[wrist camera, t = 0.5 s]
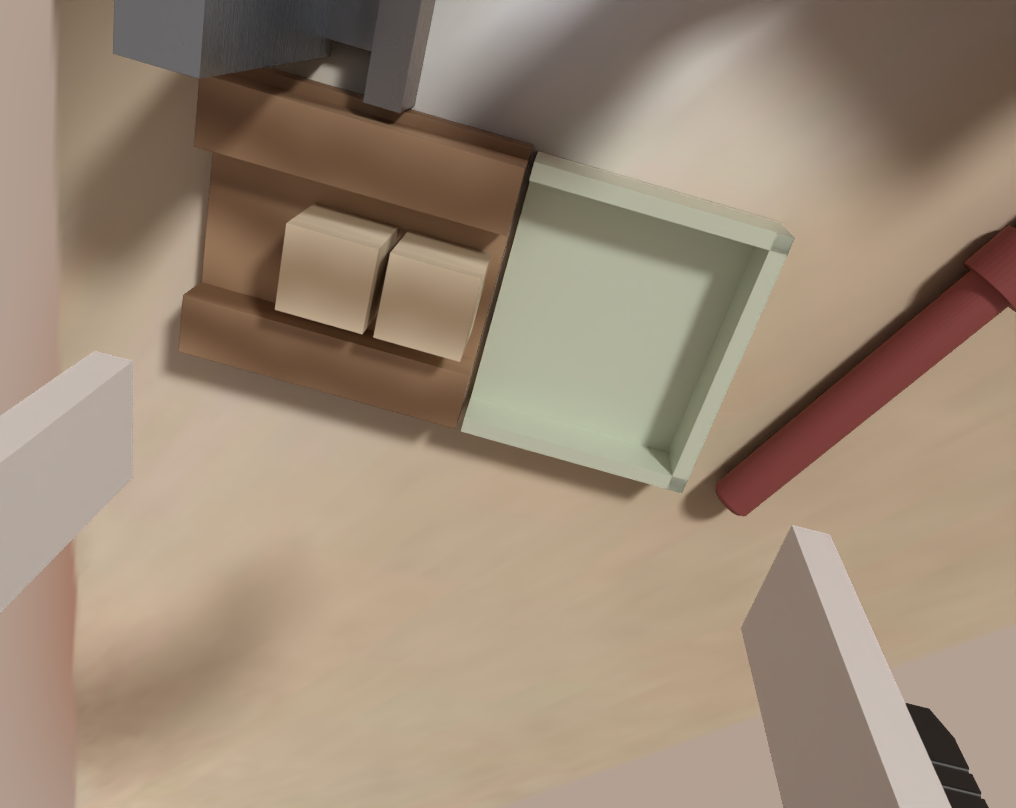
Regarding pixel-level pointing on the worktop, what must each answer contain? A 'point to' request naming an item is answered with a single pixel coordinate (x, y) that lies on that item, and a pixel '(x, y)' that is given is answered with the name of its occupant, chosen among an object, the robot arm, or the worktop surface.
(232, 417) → the worktop surface
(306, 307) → the beige cube
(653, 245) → the tray
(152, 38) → the t-shaped gray bracket
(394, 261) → the light wooden cube
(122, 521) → the worktop surface
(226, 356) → the groove board
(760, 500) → the rolling pin
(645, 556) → the worktop surface
